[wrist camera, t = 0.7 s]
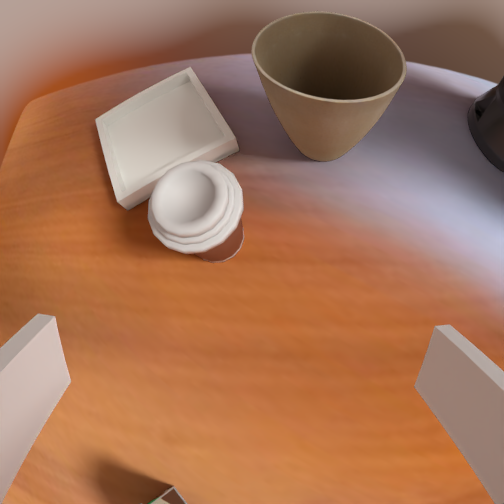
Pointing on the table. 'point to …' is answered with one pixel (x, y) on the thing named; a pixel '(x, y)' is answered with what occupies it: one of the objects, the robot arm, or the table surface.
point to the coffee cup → (198, 211)
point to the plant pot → (327, 78)
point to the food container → (169, 497)
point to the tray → (161, 135)
